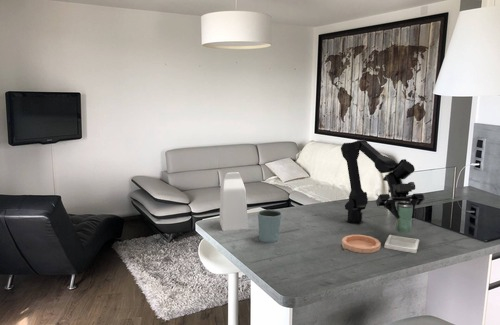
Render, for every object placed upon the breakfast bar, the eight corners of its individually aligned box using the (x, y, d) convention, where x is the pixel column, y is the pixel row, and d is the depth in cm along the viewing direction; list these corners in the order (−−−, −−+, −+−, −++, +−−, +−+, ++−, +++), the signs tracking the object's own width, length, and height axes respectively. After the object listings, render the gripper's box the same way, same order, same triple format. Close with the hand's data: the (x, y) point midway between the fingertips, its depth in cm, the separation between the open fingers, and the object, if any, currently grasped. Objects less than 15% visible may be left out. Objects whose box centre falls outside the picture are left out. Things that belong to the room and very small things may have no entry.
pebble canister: (394, 231, 162) (395, 205, 160) (396, 226, 168) (397, 201, 166) (410, 233, 159) (412, 207, 157) (411, 228, 165) (414, 203, 163)
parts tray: (384, 250, 162) (384, 244, 162) (388, 240, 173) (389, 234, 172) (415, 255, 157) (416, 249, 157) (418, 245, 167) (419, 239, 167)
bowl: (338, 250, 162) (338, 244, 161) (347, 238, 175) (347, 232, 174) (376, 258, 155) (376, 251, 154) (382, 244, 168) (383, 238, 167)
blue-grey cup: (254, 236, 177) (254, 210, 175) (274, 233, 181) (274, 208, 179) (264, 244, 168) (264, 217, 166) (285, 241, 172) (285, 214, 170)
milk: (222, 230, 185) (221, 176, 180) (219, 222, 196) (218, 170, 191) (248, 228, 187) (247, 174, 182) (243, 220, 198) (243, 169, 193)
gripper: (380, 175, 162) (390, 209, 154) (424, 174, 164) (436, 208, 155) (372, 189, 172) (380, 222, 163) (413, 188, 173) (424, 220, 164)
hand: (405, 218), depth 161 cm, fingers closed on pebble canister, 6 cm apart
